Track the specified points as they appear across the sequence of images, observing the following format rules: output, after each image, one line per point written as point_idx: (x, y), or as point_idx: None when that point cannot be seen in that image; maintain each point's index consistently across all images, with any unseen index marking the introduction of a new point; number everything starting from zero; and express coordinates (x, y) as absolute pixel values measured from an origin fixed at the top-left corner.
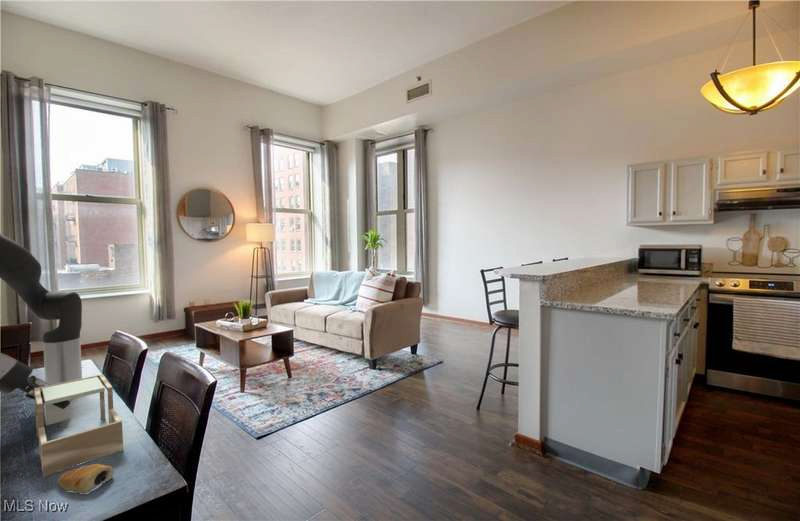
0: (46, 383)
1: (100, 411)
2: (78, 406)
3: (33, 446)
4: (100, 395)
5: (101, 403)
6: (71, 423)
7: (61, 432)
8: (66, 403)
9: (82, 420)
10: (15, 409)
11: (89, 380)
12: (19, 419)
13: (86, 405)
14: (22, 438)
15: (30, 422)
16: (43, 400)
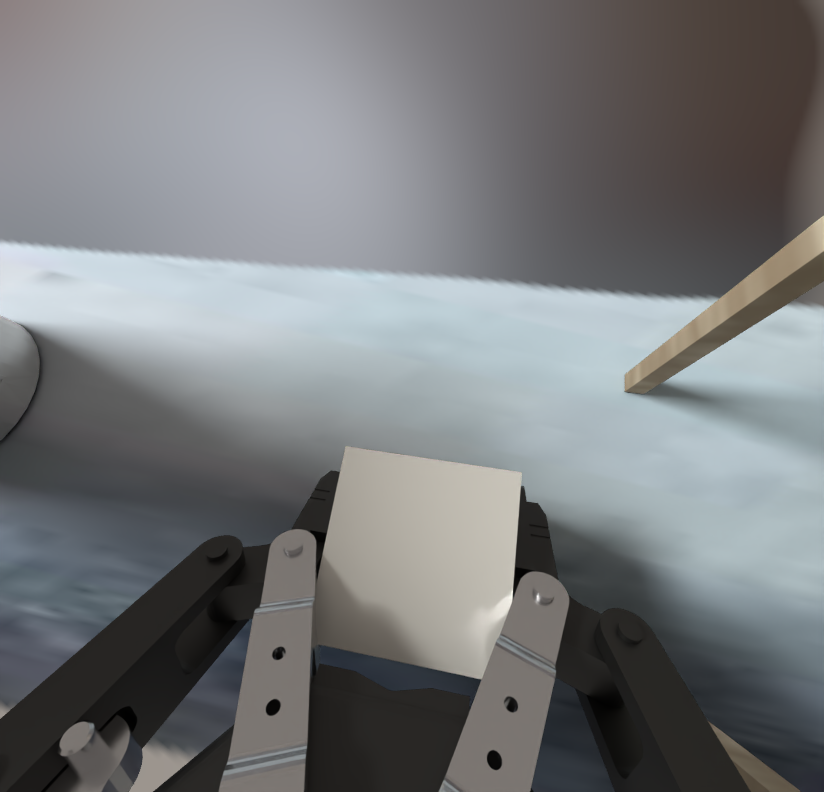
0: (295, 641)
1: (646, 377)
2: (318, 414)
3: (795, 758)
4: (750, 326)
5: (704, 352)
6: (568, 508)
7: (675, 583)
8: (539, 511)
9: (569, 458)
10: (12, 658)
11: None
12: (220, 688)
13: (342, 384)
14: (589, 767)
15: (338, 657)
16: (623, 727)
